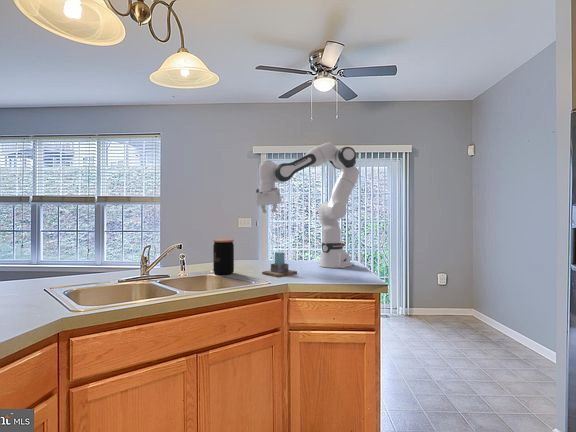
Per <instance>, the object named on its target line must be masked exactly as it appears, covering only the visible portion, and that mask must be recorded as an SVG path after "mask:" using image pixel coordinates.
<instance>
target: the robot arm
mask: <svg viewBox="0 0 576 432" xmlns="http://www.w3.org/2000/svg"><path fill="white" fill-rule="evenodd" d="M356 158H357V154H356V151H355V149H354V148H353V147H351V146H344V147H342V148H340V149H338V148H337V147H336V145H335V144H334V143H333V142H330V141H329V142H325V143H322V144H319V145H317V146H315V147H313V148H311V149H310V150H308V151H307V152H306V153H305V154H304V155H303V156H302V157H300V158H298V159H296V160H294V161H291V162H287V163H285V162H284V163H280V164H276V163H275V162H274V161H272V160H267V161H263V162H262V163H260V164H259V167H258V169H259V171H258V177H259V181H260V182H259V187H257V188H256V189H255V194H256V195H255V200H256V202H255V203H256V205H257V206H258V207H260V208H261V210H262V214H266V213H267V209H266V206H271V205H272V208H271V212H272V213H276V212H277V207H278V204H280V205H281V203H282V197H281V192H280V189H279V188H278V187H276V183H278V184H279V183H280V184H283V183H286V182H288V181H290V180H291V179H292V178H293V177H294V175H296V174H297V173H298V172H300V171H302V170H304V169H306V168H316V167H319V166H321V165H323V164H326V163H327V162H329V163H330V164H331V165H332V166H333V168H334V169H336V170H340V173H339V176H338V177H337V178H336V181H335V182H334V184H333V187H332V189H331V195H330V199H329V200H328V201H324V202H322V203H320V204H319V205H318V208H317V213H318V215H319V219H320V224H321V230H322V234H321V236H322V237H321V238H322V240H321V245H320V247H321V251H320V259H319V260H320V261H319V262H318V264H319V267H322V268H327V269H329V268H331V269H332V268H333V269H335V268H340V269H341V268H342V269H344V268H348V267H352V266H354V265H355V263H354V262H351V257H350V254H349V253H348V252H346V251H345V250H344V247H346V243H345V242H342V239H341V238H342V237H341V236H342V235H341V234H342V233H341V232H342V230H341V227H340V223H339V221H338V220H340V219H342V218H344V217H345V216H346V215H347V205H348V201H349V198H350V195H351V194H352V192H353V190H354V187H355V185H356V183H357V181H358V178H359V175H360V170H359V168H358V167H356V166H355V165H356V164H357V163H356V162H357V161H356Z"/></svg>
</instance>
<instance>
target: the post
mask: <svg viewBox="0 0 576 432" xmlns="http://www.w3.org/2000/svg"><path fill="white" fill-rule="evenodd" d="M285 261H286V259H285V252H282V251H277V252H274V263H275V265H284V264H286V263H285Z"/></svg>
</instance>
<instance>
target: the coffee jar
mask: <svg viewBox="0 0 576 432" xmlns="http://www.w3.org/2000/svg"><path fill="white" fill-rule="evenodd" d="M234 247H235V243H234V239H233V238H218V239H217V238H216V239H213V252H212V253H213V259H212V260H213V274H215V276H228V275H233V273H234V272H235V271H234V270H235V262H234V260H235V254H234V253H235V251H234V249H235V248H234Z"/></svg>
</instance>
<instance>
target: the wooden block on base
mask: <svg viewBox="0 0 576 432" xmlns="http://www.w3.org/2000/svg"><path fill="white" fill-rule="evenodd" d="M261 274H262V275H265V276H270V277H274V278H279V277H286V276H292V275H297V274H298V272H297V270H291V269H289V263H285V264H284V265H275V262H274V263H270V270H264V271H262V272H261Z"/></svg>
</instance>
